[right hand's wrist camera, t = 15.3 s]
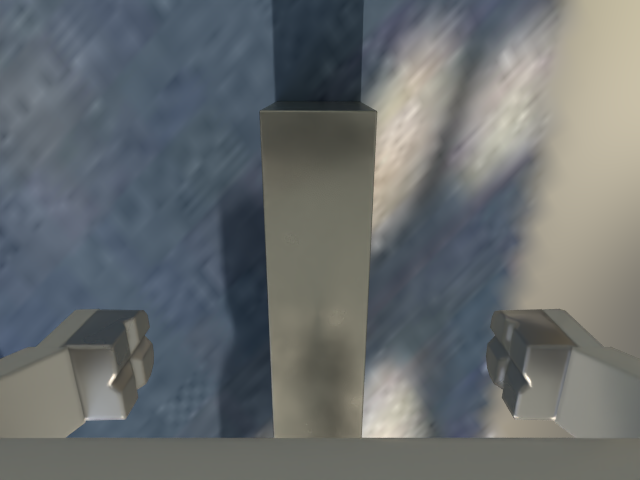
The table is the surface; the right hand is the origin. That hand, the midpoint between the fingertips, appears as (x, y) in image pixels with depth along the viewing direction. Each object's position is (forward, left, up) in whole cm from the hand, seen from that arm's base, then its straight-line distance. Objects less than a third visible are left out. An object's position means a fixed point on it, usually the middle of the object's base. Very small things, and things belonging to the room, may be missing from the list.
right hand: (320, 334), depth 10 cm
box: (+7, 0, -22) cm, 23 cm away
